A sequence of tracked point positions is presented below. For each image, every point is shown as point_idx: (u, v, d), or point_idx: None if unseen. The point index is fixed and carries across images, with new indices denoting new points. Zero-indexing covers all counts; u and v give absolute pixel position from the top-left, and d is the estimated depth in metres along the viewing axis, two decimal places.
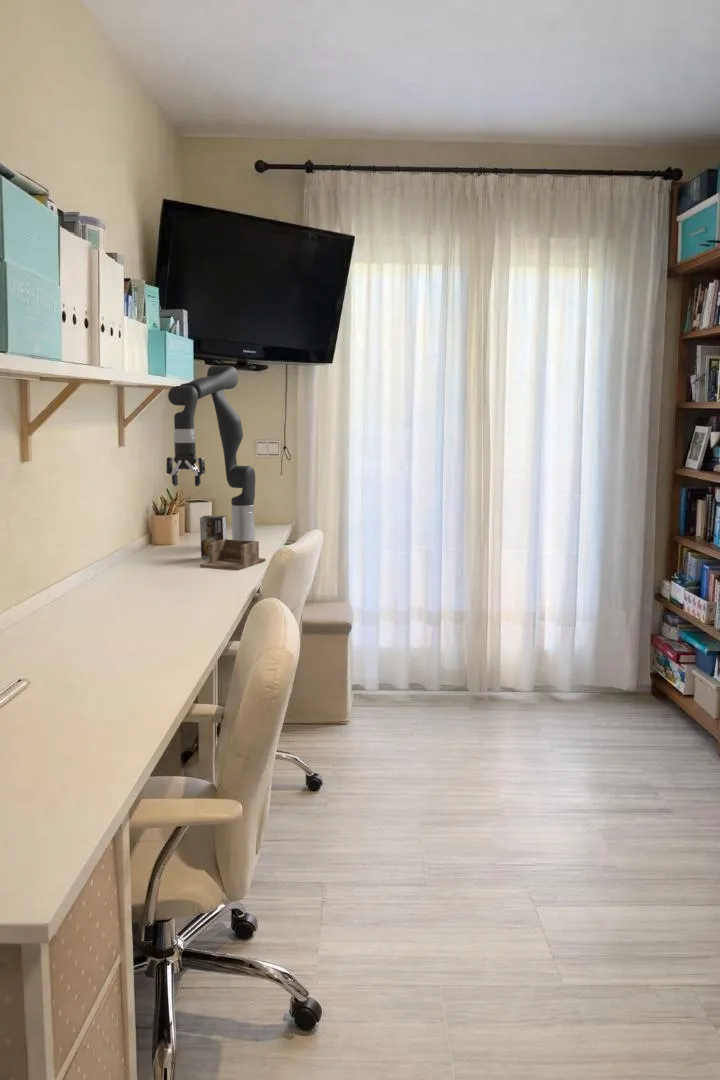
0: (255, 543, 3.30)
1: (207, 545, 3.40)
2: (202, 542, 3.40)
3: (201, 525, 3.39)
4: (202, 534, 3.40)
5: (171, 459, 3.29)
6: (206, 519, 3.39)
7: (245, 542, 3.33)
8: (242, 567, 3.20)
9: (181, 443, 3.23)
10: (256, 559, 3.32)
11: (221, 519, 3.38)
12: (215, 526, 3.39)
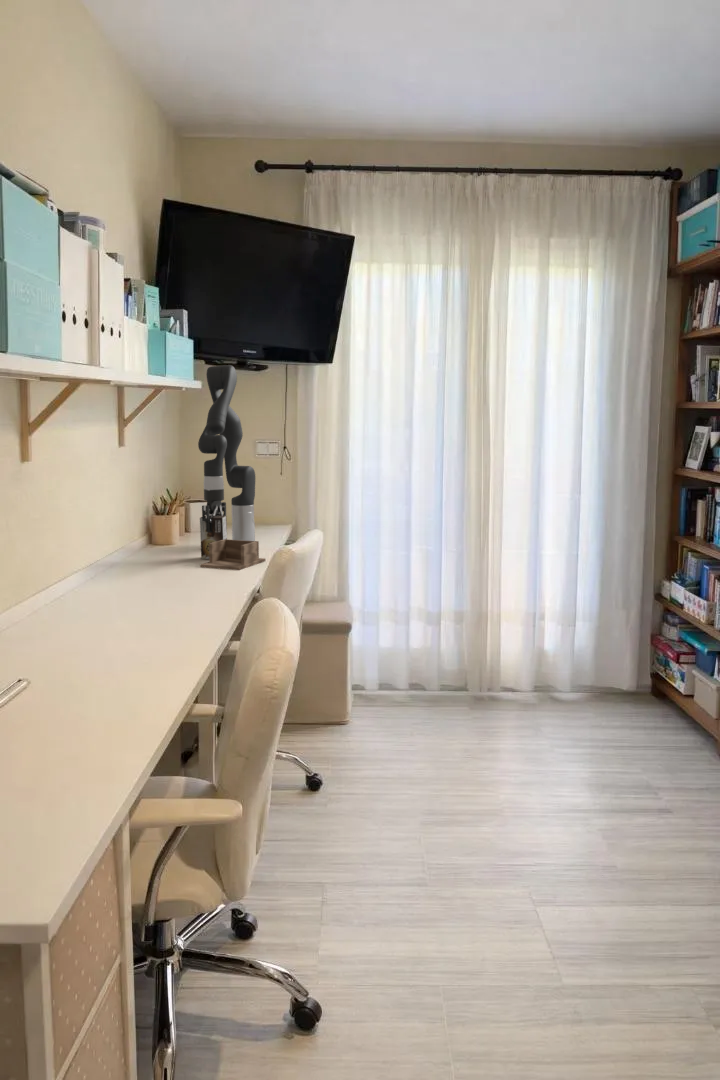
0: (255, 543, 3.30)
1: (207, 545, 3.40)
2: (202, 542, 3.40)
3: (201, 525, 3.39)
4: (202, 534, 3.40)
5: None
6: None
7: (245, 542, 3.33)
8: (242, 567, 3.20)
9: (222, 490, 3.39)
10: (256, 559, 3.32)
11: (221, 519, 3.38)
12: (215, 526, 3.39)
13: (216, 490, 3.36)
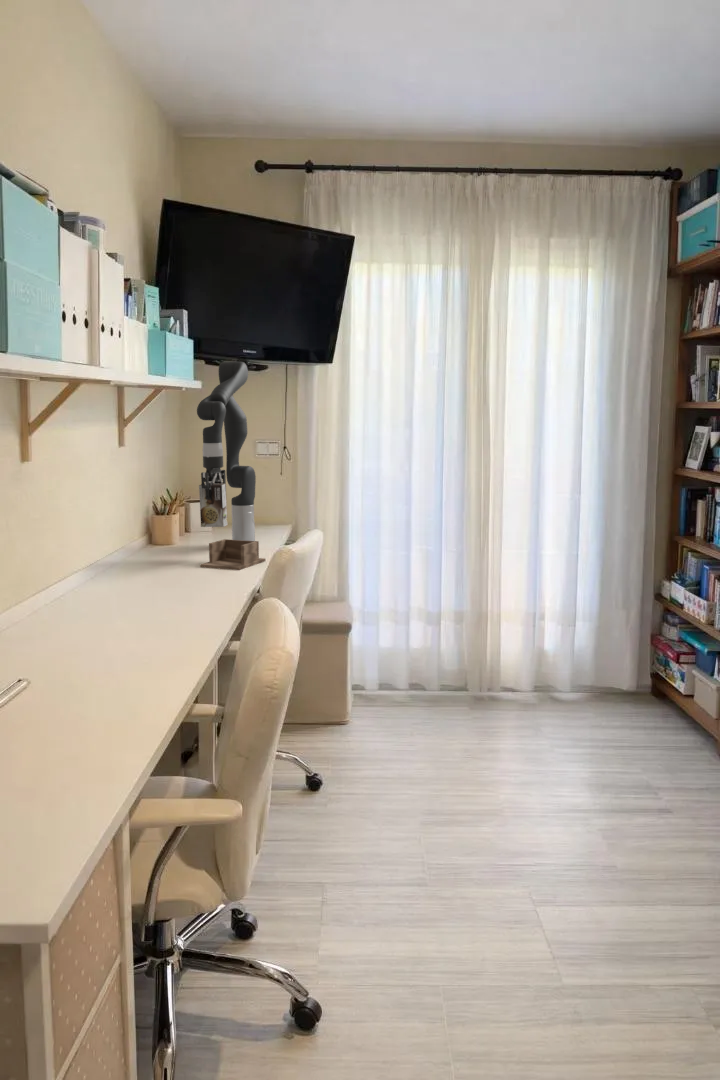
0: (255, 543, 3.30)
1: (206, 513, 3.38)
2: (201, 510, 3.38)
3: (200, 492, 3.37)
4: (201, 502, 3.38)
5: None
6: None
7: (245, 542, 3.33)
8: (242, 567, 3.20)
9: (221, 457, 3.37)
10: (256, 559, 3.32)
11: (220, 486, 3.36)
12: (214, 493, 3.37)
13: (215, 457, 3.34)
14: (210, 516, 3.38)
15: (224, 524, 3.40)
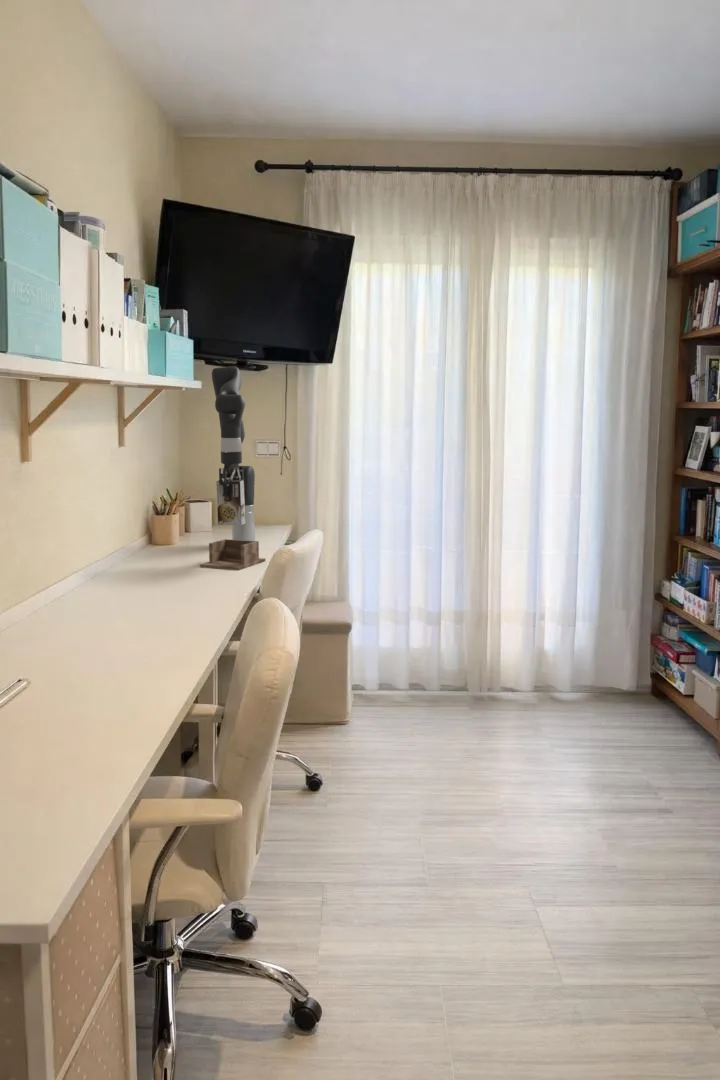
0: (255, 543, 3.30)
1: (224, 510, 3.25)
2: (219, 507, 3.25)
3: (218, 489, 3.24)
4: (219, 499, 3.24)
5: None
6: None
7: (245, 542, 3.33)
8: (242, 567, 3.20)
9: (240, 452, 3.23)
10: (256, 559, 3.32)
11: (239, 483, 3.23)
12: (232, 490, 3.23)
13: (234, 452, 3.21)
14: (228, 514, 3.25)
15: (242, 522, 3.26)
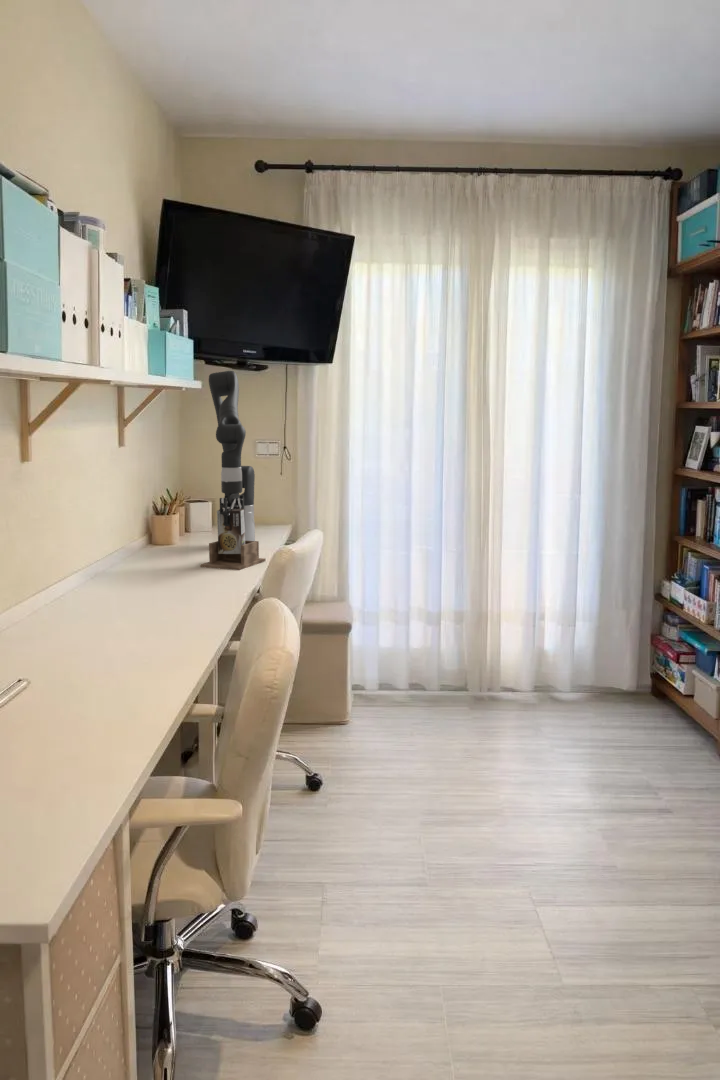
0: (255, 543, 3.30)
1: (224, 539, 3.26)
2: (219, 536, 3.26)
3: (218, 518, 3.25)
4: (219, 528, 3.26)
5: None
6: None
7: (245, 542, 3.33)
8: (242, 567, 3.20)
9: (241, 482, 3.25)
10: (256, 559, 3.32)
11: (239, 512, 3.24)
12: (233, 519, 3.25)
13: (234, 482, 3.23)
14: (228, 543, 3.26)
15: None
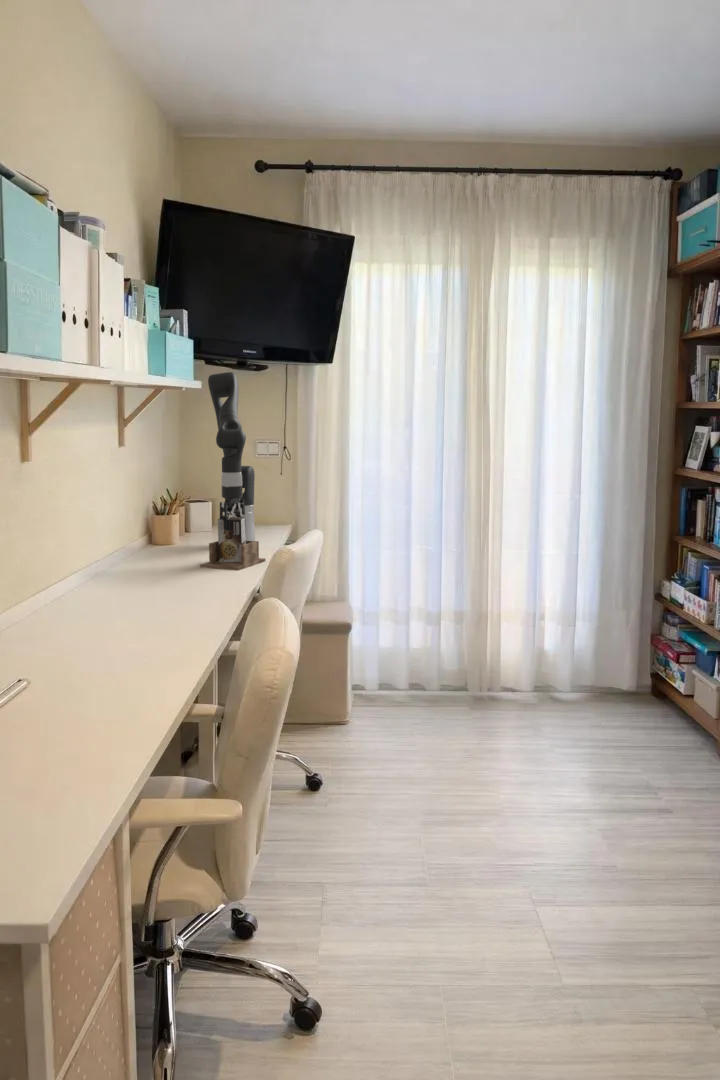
0: (255, 543, 3.30)
1: (225, 548, 3.27)
2: (220, 545, 3.27)
3: (219, 527, 3.26)
4: (220, 536, 3.27)
5: None
6: None
7: None
8: (242, 567, 3.20)
9: (241, 486, 3.25)
10: (256, 559, 3.32)
11: (239, 521, 3.25)
12: (233, 528, 3.26)
13: (234, 487, 3.23)
14: (229, 552, 3.27)
15: None
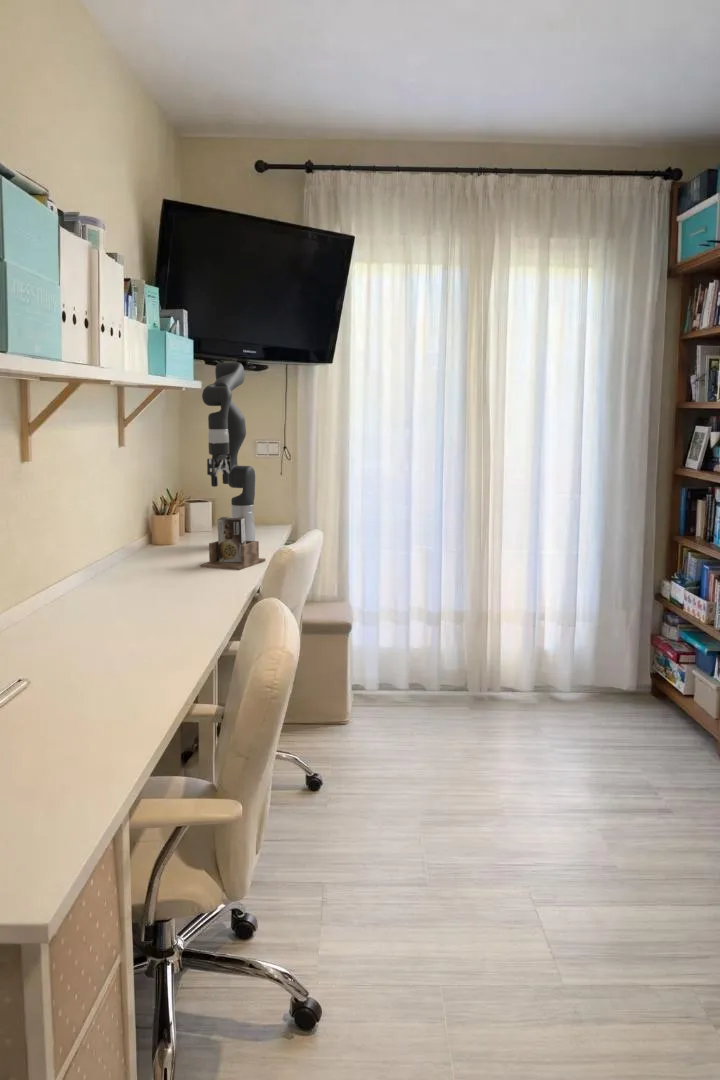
0: (255, 543, 3.30)
1: (225, 548, 3.27)
2: (220, 545, 3.27)
3: (219, 527, 3.26)
4: (220, 536, 3.27)
5: None
6: (224, 521, 3.26)
7: None
8: (242, 567, 3.20)
9: (228, 443, 3.30)
10: (256, 559, 3.32)
11: (239, 521, 3.25)
12: (233, 528, 3.26)
13: (221, 443, 3.28)
14: (229, 552, 3.27)
15: None
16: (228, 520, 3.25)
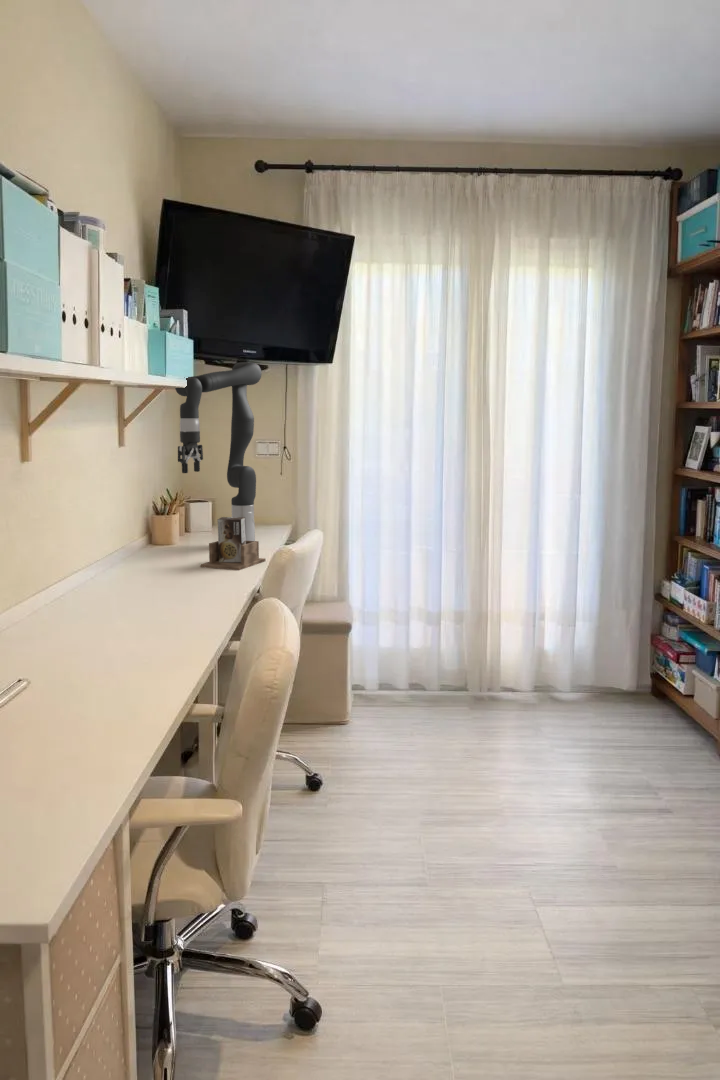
0: (255, 543, 3.30)
1: (225, 548, 3.27)
2: (220, 544, 3.27)
3: (219, 527, 3.26)
4: (220, 536, 3.27)
5: None
6: (224, 521, 3.26)
7: None
8: (242, 567, 3.20)
9: (198, 432, 3.45)
10: (256, 559, 3.32)
11: (239, 521, 3.25)
12: (233, 528, 3.26)
13: (192, 432, 3.42)
14: (229, 552, 3.27)
15: None
16: (228, 520, 3.25)
